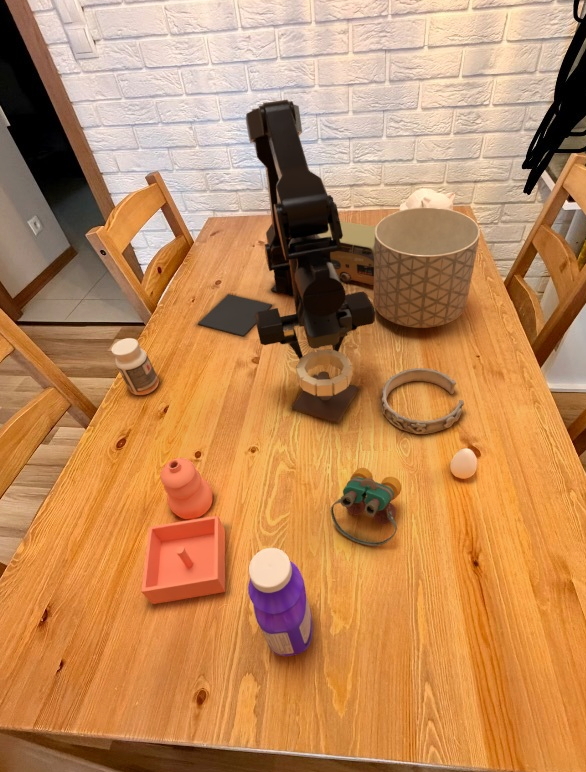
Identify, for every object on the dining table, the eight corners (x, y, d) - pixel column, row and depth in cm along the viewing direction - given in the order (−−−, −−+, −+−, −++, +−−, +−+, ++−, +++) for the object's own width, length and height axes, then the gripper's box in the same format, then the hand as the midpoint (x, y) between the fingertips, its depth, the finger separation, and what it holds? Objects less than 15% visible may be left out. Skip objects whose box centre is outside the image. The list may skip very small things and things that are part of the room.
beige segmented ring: (317, 353, 82) (316, 342, 80) (361, 372, 78) (362, 361, 76) (286, 382, 77) (285, 371, 75) (332, 404, 73) (331, 393, 72)
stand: (314, 377, 87) (312, 352, 82) (358, 389, 84) (358, 365, 79) (292, 409, 82) (287, 385, 77) (338, 424, 78) (336, 399, 74)
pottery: (225, 591, 60) (206, 559, 53) (152, 604, 60) (123, 572, 53) (224, 479, 72) (209, 440, 65) (164, 489, 72) (142, 450, 65)
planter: (361, 330, 95) (360, 248, 82) (387, 281, 107) (391, 202, 93) (454, 347, 90) (469, 262, 76) (471, 294, 101) (487, 212, 88)
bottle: (267, 600, 59) (240, 536, 46) (311, 595, 59) (296, 530, 46) (267, 662, 54) (238, 609, 41) (315, 657, 54) (300, 602, 41)
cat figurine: (388, 230, 123) (391, 163, 111) (427, 225, 124) (434, 158, 111) (414, 280, 106) (421, 207, 94) (458, 273, 107) (471, 201, 94)
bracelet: (404, 369, 86) (405, 356, 84) (474, 395, 81) (477, 383, 78) (366, 415, 79) (366, 403, 77) (439, 448, 73) (442, 436, 71)
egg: (472, 485, 69) (479, 463, 64) (447, 478, 70) (452, 456, 66) (476, 465, 71) (482, 443, 67) (451, 459, 72) (456, 437, 68)
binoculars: (397, 539, 66) (413, 476, 63) (381, 572, 58) (397, 502, 55) (337, 517, 69) (349, 456, 66) (313, 546, 61) (325, 478, 58)
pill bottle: (163, 376, 90) (145, 335, 83) (153, 397, 86) (134, 356, 79) (136, 375, 91) (116, 335, 84) (125, 396, 87) (103, 356, 80)
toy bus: (377, 291, 104) (376, 249, 97) (293, 272, 114) (287, 233, 107) (397, 270, 109) (397, 228, 102) (315, 253, 119) (310, 215, 112)
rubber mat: (228, 295, 108) (228, 294, 108) (272, 305, 104) (272, 304, 103) (198, 324, 101) (197, 323, 101) (243, 337, 97) (243, 335, 96)
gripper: (255, 320, 62) (272, 400, 74) (387, 295, 64) (384, 377, 76) (246, 278, 70) (263, 357, 81) (364, 256, 72) (364, 336, 83)
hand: (318, 357), depth 80 cm, fingers closed on beige segmented ring, 5 cm apart
